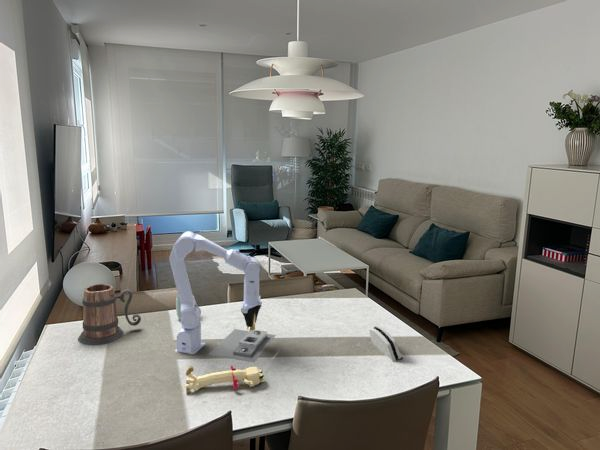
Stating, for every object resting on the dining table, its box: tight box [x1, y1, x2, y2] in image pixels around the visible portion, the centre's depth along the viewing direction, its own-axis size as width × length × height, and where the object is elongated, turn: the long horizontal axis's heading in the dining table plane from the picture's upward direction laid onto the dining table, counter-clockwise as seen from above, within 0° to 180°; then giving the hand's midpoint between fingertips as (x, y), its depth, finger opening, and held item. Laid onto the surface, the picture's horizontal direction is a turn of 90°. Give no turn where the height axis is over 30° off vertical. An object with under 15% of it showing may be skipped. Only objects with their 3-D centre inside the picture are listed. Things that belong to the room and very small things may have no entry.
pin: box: [246, 316, 256, 331], centre depth 171 cm, size 3×3×6 cm
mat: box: [207, 328, 276, 363], centre depth 173 cm, size 24×18×1 cm
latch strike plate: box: [233, 329, 269, 357], centre depth 172 cm, size 18×7×3 cm, turn 165°
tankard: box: [77, 283, 142, 347], centre depth 178 cm, size 24×17×20 cm
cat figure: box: [185, 365, 266, 394], centre depth 144 cm, size 10×9×25 cm
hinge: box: [368, 325, 405, 362], centre depth 172 cm, size 17×5×10 cm, turn 19°
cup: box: [175, 295, 195, 321], centre depth 196 cm, size 8×8×10 cm
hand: (251, 324), depth 171 cm, fingers closed on pin, 3 cm apart
